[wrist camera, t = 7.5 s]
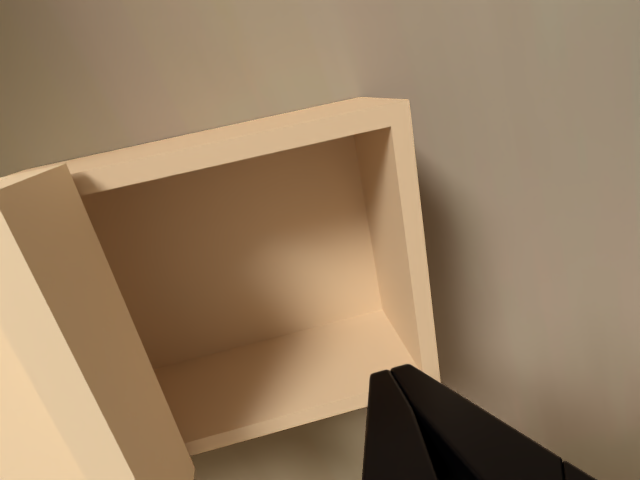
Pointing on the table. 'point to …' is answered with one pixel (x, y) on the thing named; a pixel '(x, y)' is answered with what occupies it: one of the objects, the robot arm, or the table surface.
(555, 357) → the table surface
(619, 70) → the table surface
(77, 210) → the cream angled plate
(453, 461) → the robot arm
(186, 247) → the base
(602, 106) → the table surface
